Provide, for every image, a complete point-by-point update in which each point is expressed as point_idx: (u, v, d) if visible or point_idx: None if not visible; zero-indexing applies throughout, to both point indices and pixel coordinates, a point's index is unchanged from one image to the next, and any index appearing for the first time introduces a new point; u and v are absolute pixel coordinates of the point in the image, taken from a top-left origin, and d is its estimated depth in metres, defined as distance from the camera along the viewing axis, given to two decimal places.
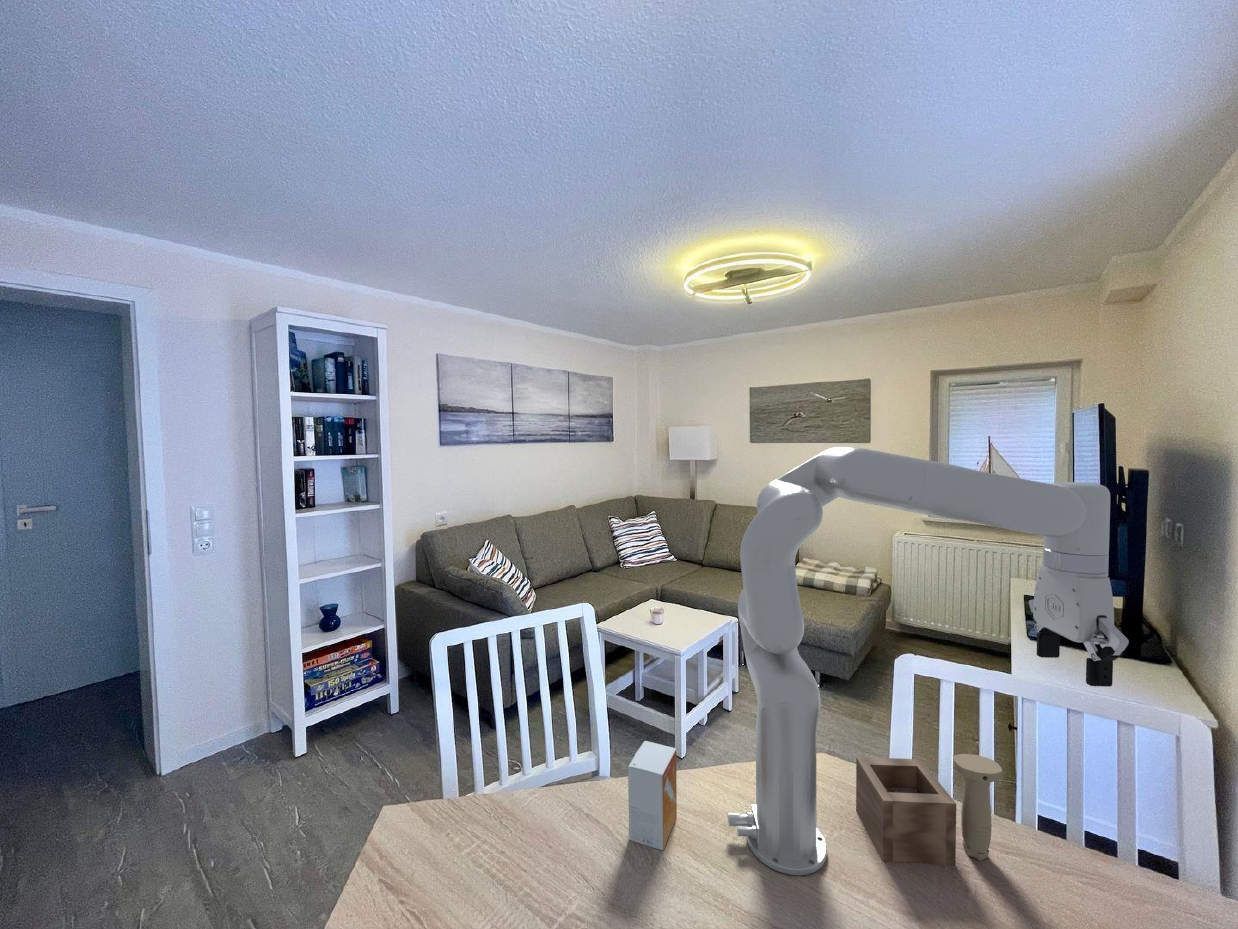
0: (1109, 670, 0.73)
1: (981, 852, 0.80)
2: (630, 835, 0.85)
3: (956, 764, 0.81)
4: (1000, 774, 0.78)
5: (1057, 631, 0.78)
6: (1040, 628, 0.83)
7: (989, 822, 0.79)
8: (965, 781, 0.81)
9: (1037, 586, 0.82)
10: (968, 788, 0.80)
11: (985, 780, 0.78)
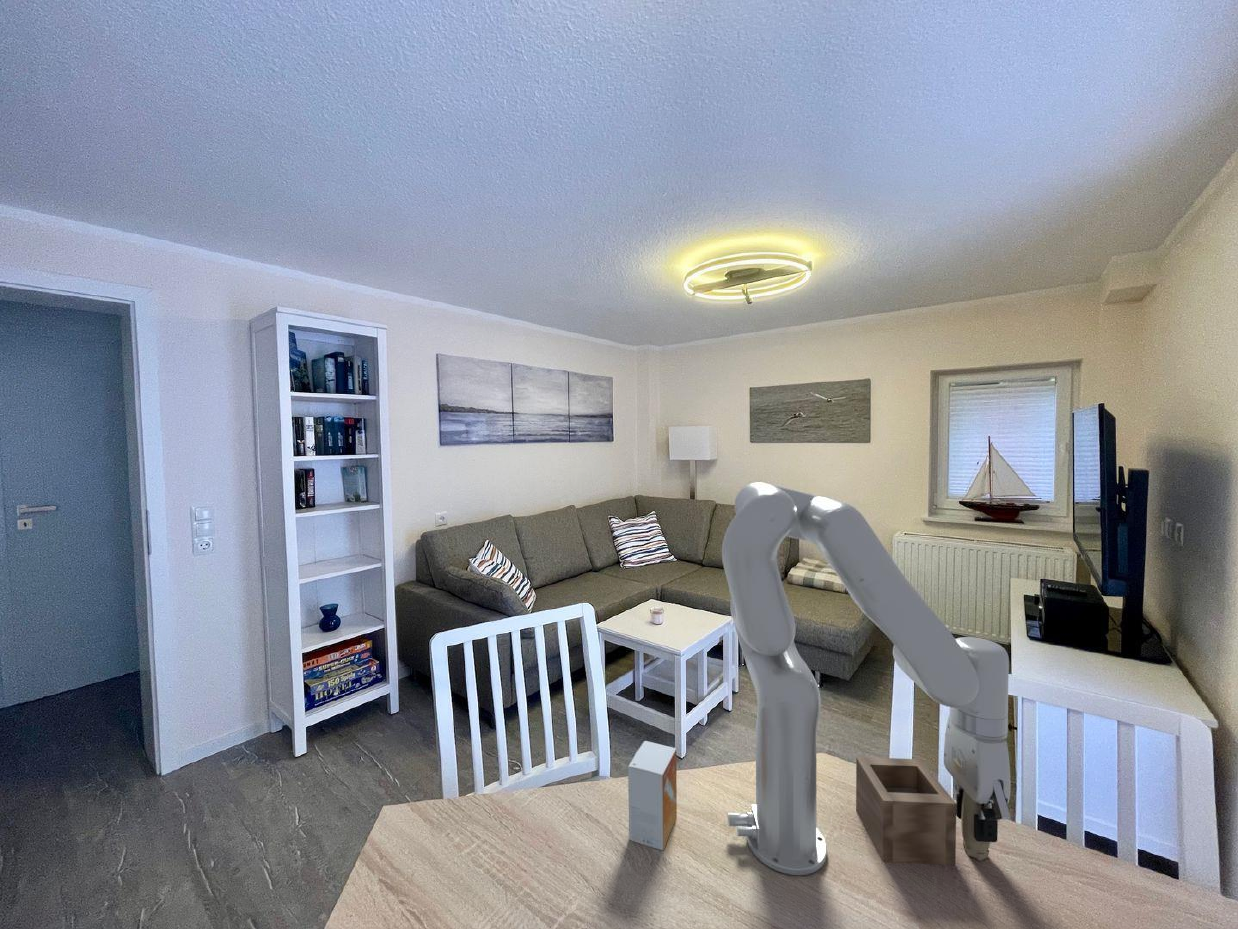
0: (993, 828, 0.78)
1: (981, 852, 0.80)
2: (630, 835, 0.85)
3: (956, 764, 0.81)
4: None
5: (961, 785, 0.80)
6: (958, 787, 0.83)
7: None
8: None
9: (946, 734, 0.84)
10: None
11: None
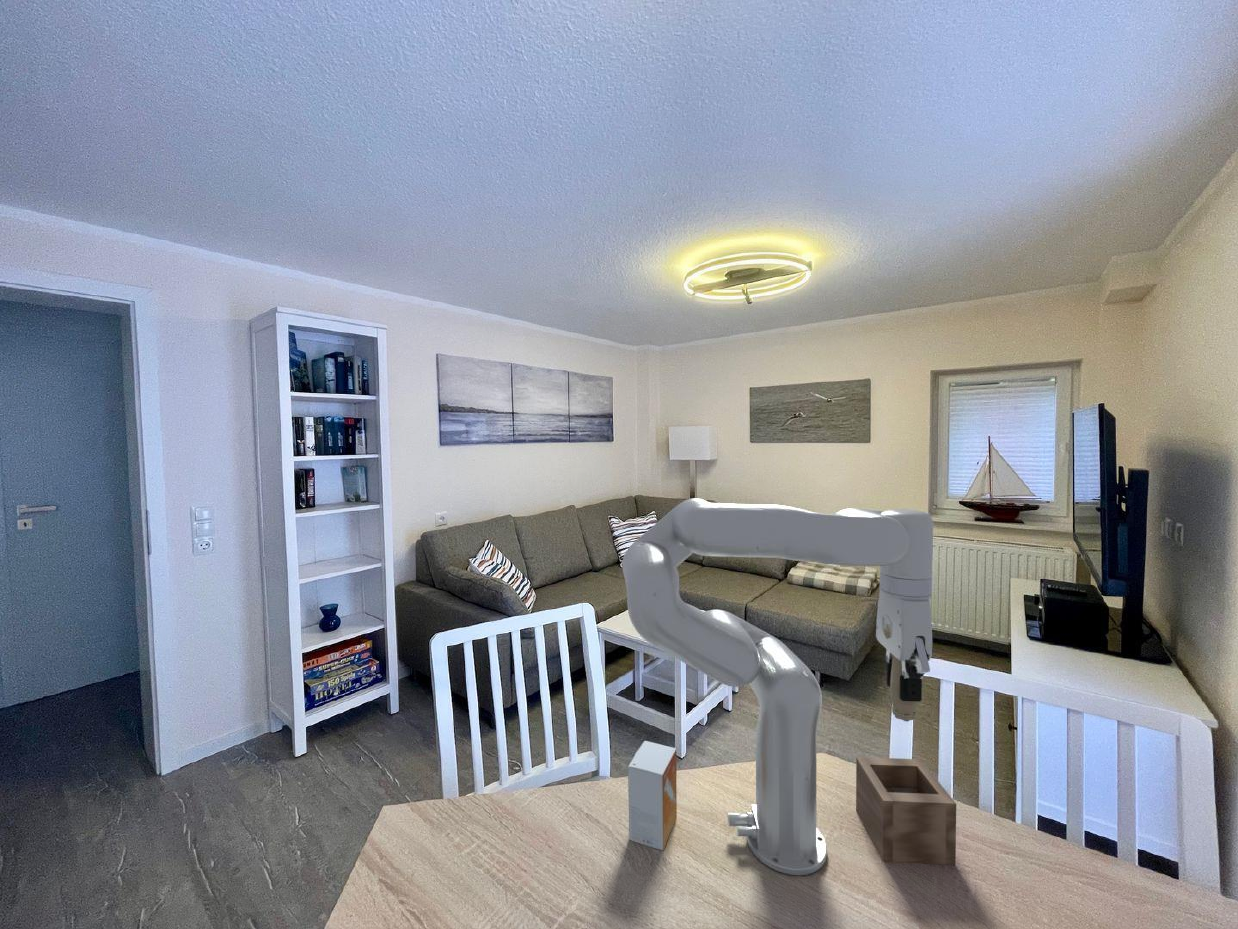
0: (917, 687, 0.80)
1: (907, 713, 0.82)
2: (630, 835, 0.85)
3: (885, 630, 0.84)
4: None
5: (888, 649, 0.83)
6: (888, 656, 0.86)
7: None
8: None
9: (878, 606, 0.87)
10: None
11: None
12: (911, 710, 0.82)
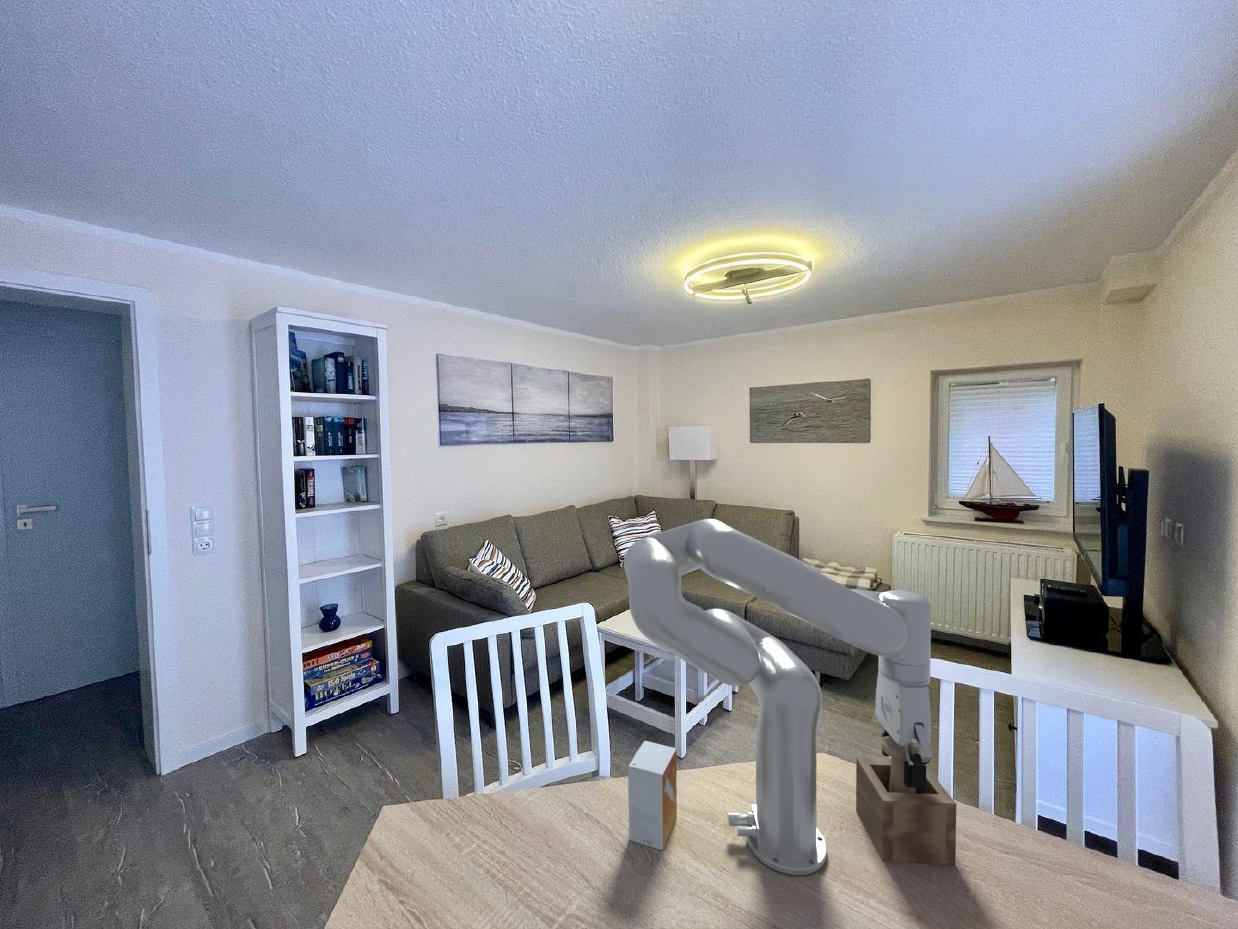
0: (921, 774, 0.79)
1: None
2: (630, 835, 0.85)
3: (883, 745, 0.85)
4: None
5: (887, 731, 0.84)
6: (884, 727, 0.88)
7: None
8: (892, 761, 0.85)
9: (877, 684, 0.88)
10: (894, 768, 0.84)
11: None
12: None
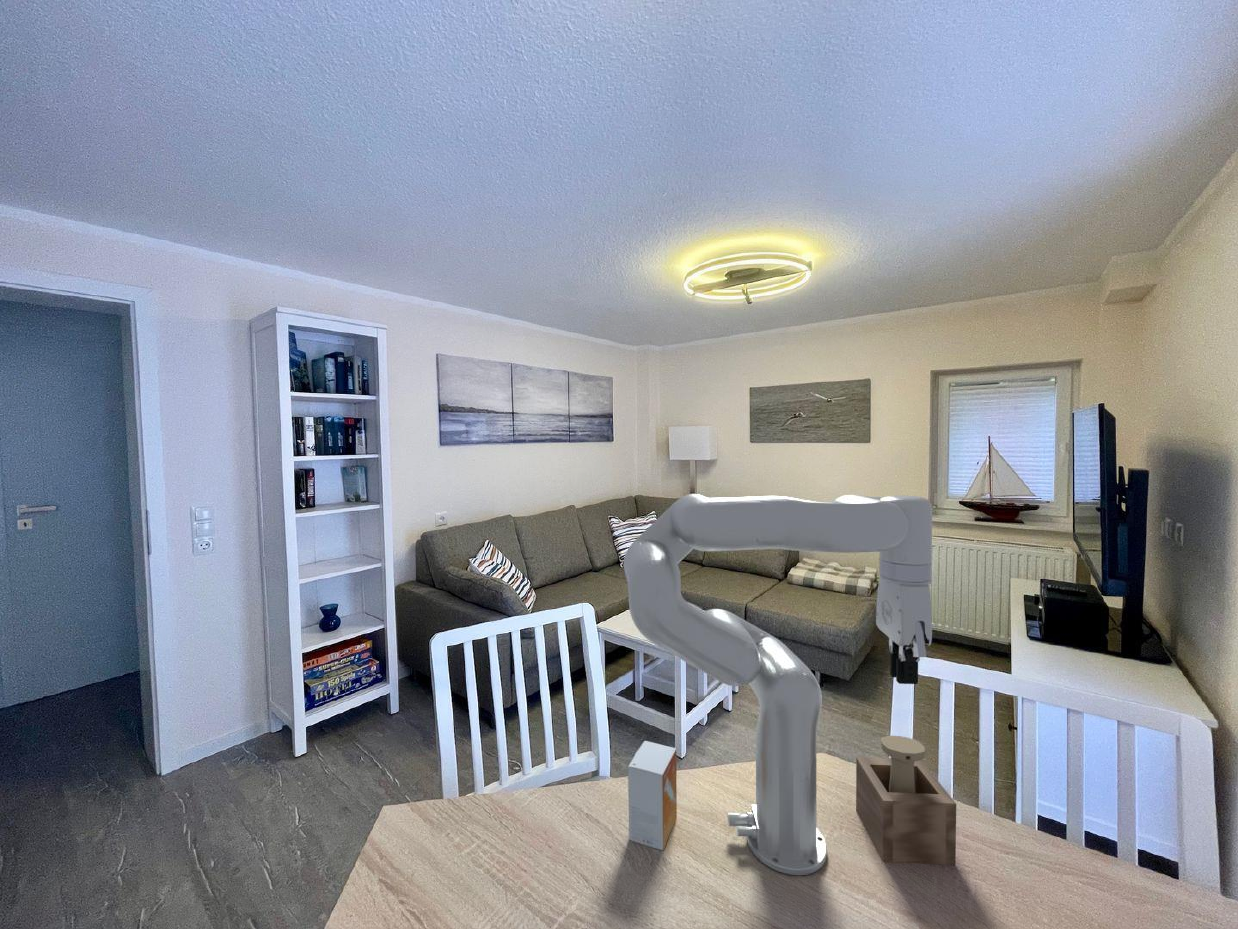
0: (913, 669, 0.82)
1: None
2: (630, 835, 0.85)
3: (883, 745, 0.84)
4: (922, 754, 0.82)
5: (888, 635, 0.83)
6: (891, 645, 0.85)
7: None
8: (892, 761, 0.85)
9: (878, 593, 0.87)
10: (894, 768, 0.84)
11: (908, 759, 0.82)
12: None
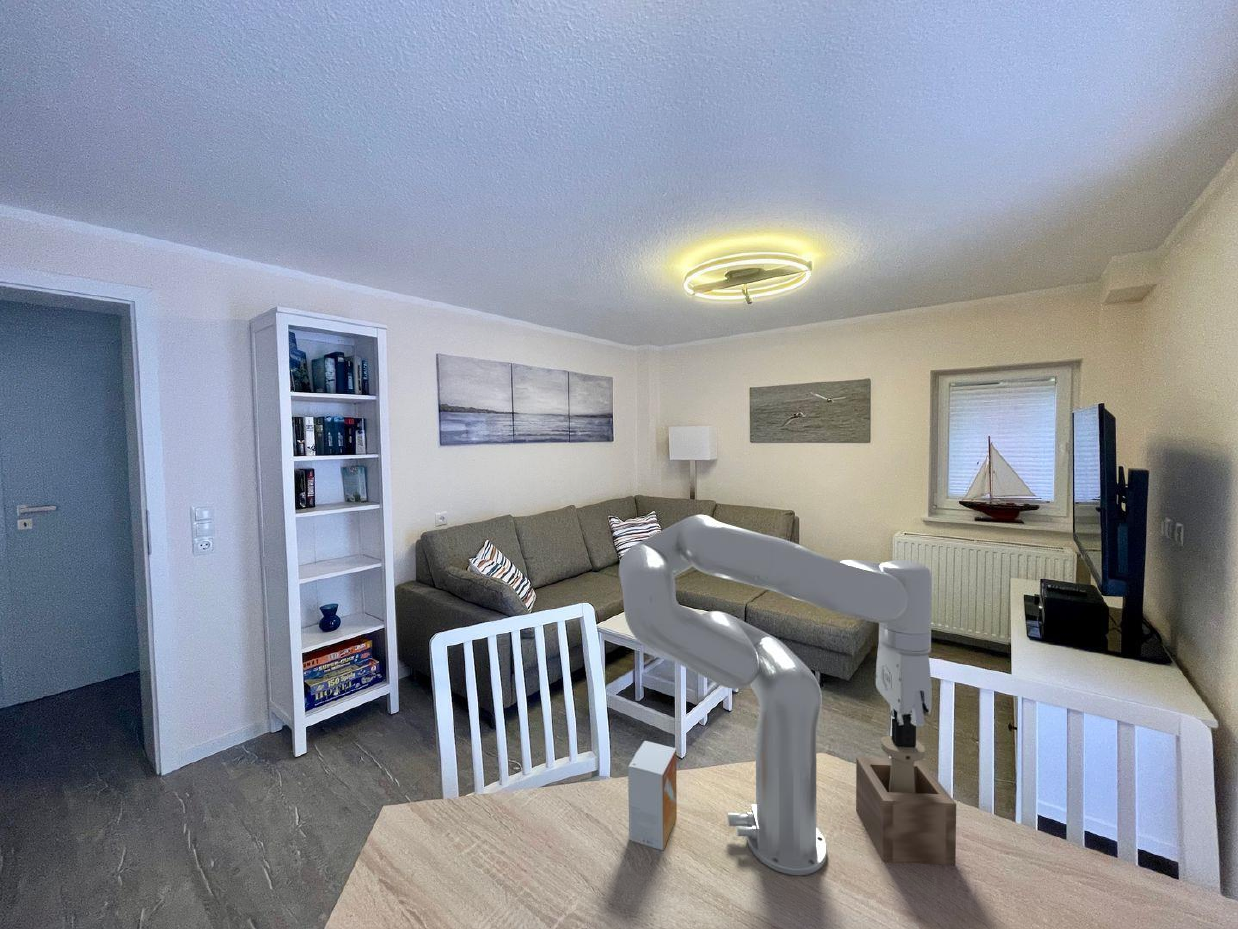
0: (911, 733, 0.83)
1: None
2: (630, 835, 0.85)
3: (883, 745, 0.85)
4: (922, 754, 0.82)
5: (888, 701, 0.83)
6: (893, 710, 0.85)
7: None
8: (892, 761, 0.85)
9: (877, 656, 0.88)
10: (894, 768, 0.84)
11: (908, 759, 0.82)
12: None
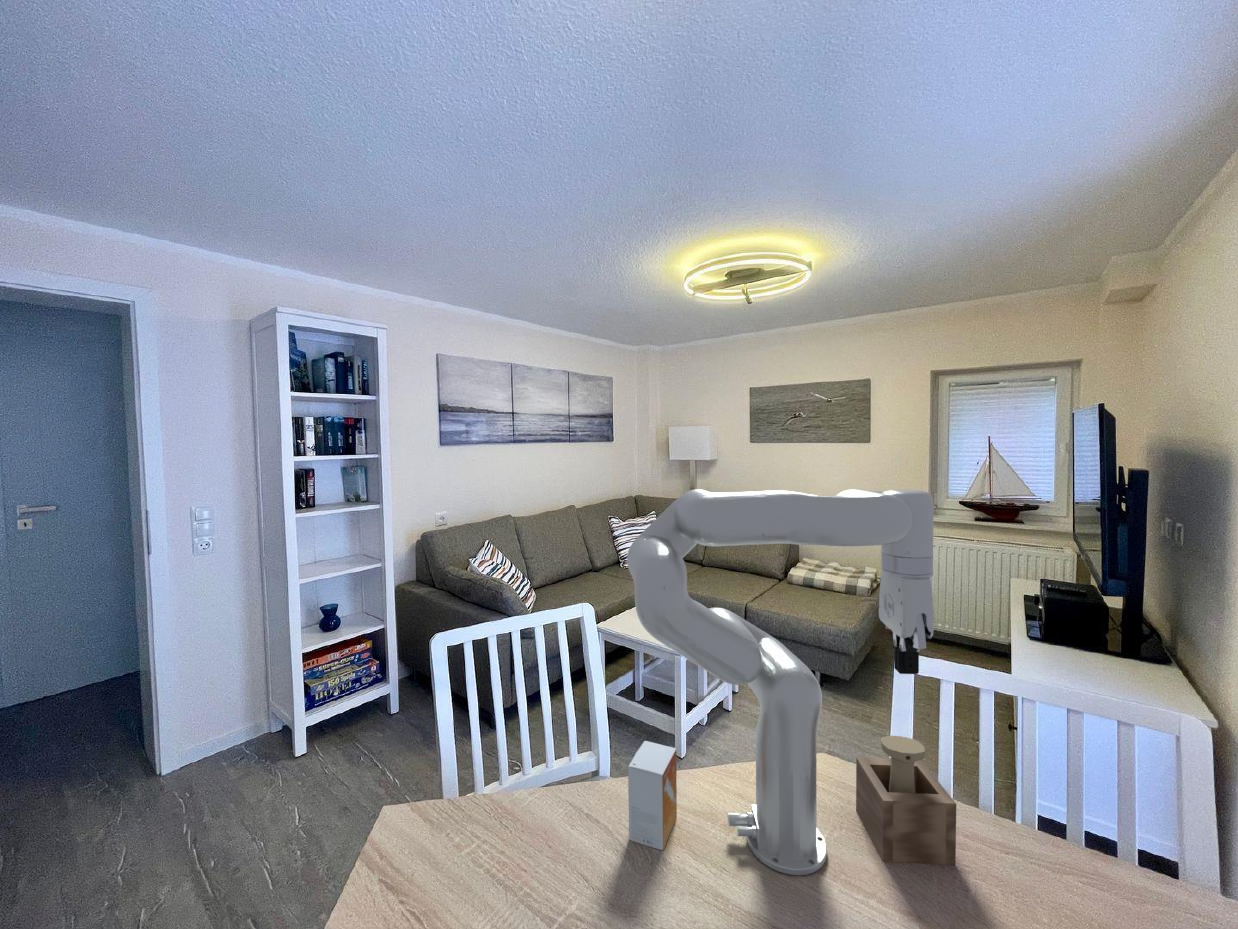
0: (914, 659, 0.83)
1: None
2: (630, 835, 0.85)
3: (883, 745, 0.84)
4: (922, 754, 0.82)
5: (890, 628, 0.84)
6: (895, 638, 0.85)
7: None
8: (892, 761, 0.85)
9: (880, 586, 0.88)
10: (894, 768, 0.84)
11: (908, 759, 0.82)
12: None
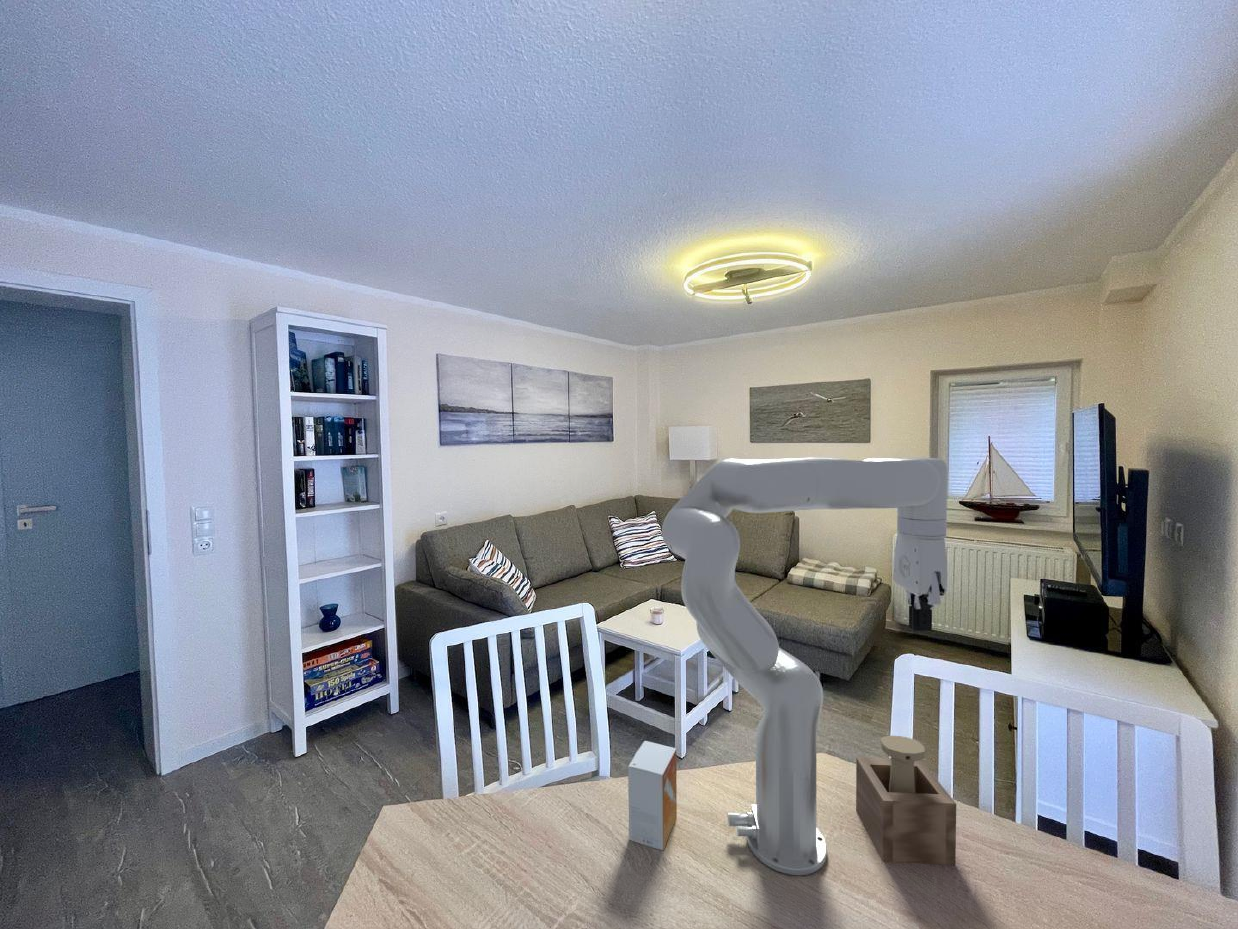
0: (928, 617, 0.88)
1: None
2: (630, 835, 0.85)
3: (883, 745, 0.85)
4: (922, 754, 0.82)
5: (906, 587, 0.89)
6: (910, 598, 0.91)
7: None
8: (892, 761, 0.85)
9: (895, 550, 0.93)
10: (894, 768, 0.84)
11: (908, 759, 0.82)
12: None
